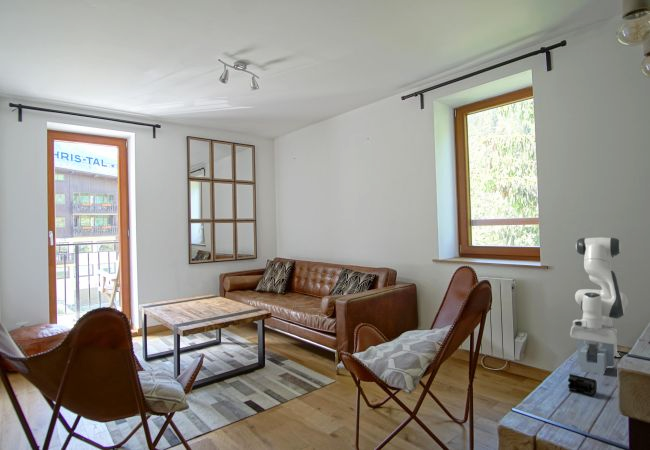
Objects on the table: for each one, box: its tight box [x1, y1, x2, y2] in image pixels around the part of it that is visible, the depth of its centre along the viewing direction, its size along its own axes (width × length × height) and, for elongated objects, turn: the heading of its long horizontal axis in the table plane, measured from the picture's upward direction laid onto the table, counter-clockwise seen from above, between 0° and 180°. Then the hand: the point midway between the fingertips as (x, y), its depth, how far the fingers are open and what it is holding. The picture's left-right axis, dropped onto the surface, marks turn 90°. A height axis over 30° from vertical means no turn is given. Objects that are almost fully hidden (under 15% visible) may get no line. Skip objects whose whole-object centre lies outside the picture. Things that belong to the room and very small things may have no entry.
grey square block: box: [577, 339, 615, 375], centre depth 195 cm, size 16×16×14 cm
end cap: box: [567, 373, 598, 398], centre depth 165 cm, size 10×7×7 cm
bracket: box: [589, 341, 598, 356], centre depth 194 cm, size 6×3×6 cm, turn 137°
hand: (593, 349), depth 194 cm, fingers closed on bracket, 3 cm apart
